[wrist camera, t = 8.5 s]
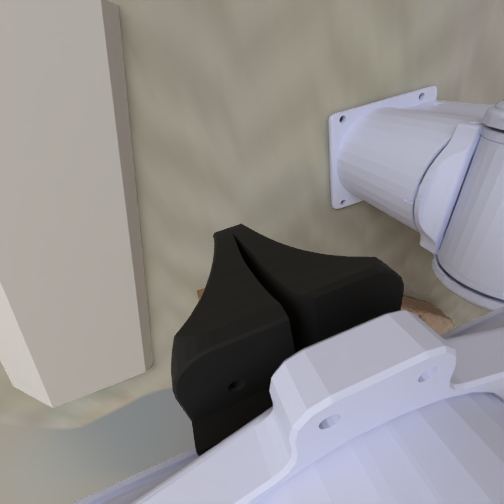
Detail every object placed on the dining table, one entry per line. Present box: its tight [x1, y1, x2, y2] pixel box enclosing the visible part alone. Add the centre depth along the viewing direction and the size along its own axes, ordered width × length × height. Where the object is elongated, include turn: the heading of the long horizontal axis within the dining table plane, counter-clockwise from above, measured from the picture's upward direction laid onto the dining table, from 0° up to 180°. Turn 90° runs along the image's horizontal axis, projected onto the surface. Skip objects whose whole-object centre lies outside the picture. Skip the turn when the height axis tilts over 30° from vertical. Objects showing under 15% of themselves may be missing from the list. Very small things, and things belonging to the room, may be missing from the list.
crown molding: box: [0, 0, 153, 408], centre depth 19 cm, size 29×12×4 cm, turn 174°
